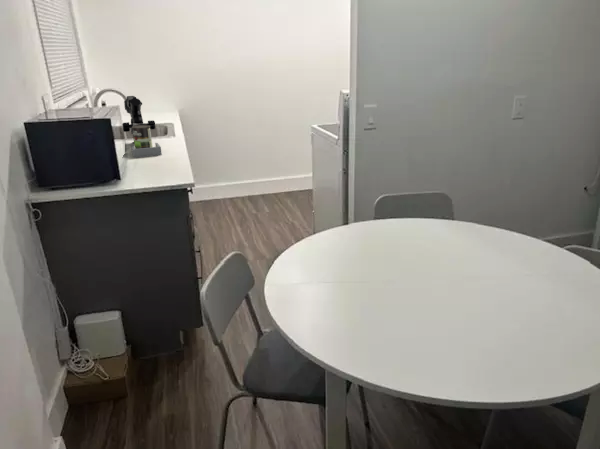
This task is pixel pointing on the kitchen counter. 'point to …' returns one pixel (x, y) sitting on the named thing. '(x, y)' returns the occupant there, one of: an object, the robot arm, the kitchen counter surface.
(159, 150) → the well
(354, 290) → the kitchen counter surface
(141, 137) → the coffee can
